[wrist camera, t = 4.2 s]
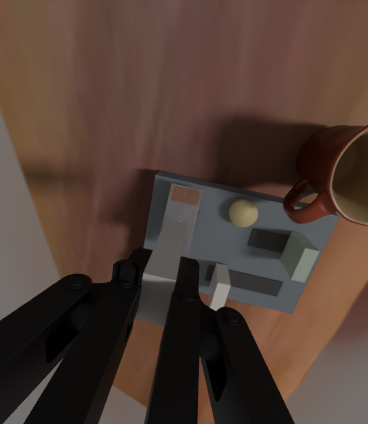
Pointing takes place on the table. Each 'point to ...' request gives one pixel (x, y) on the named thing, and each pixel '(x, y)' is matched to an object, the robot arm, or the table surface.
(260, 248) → the console
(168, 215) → the block
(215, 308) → the pale grey cuboid
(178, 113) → the table surface
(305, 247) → the grey block
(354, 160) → the mug
